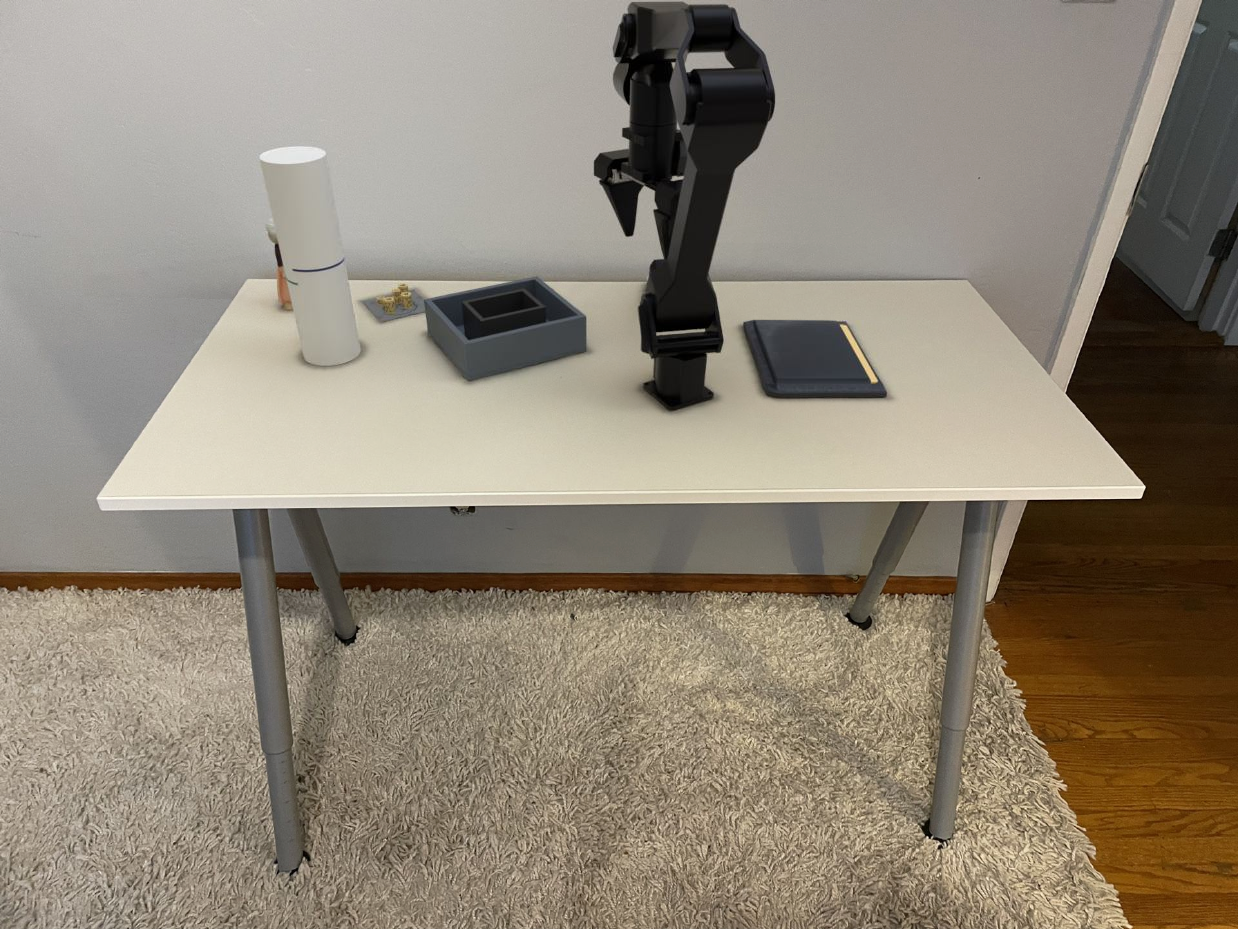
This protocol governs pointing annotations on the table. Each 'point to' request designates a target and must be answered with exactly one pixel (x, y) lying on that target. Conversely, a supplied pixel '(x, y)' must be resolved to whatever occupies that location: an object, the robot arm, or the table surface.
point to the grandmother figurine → (279, 268)
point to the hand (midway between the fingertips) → (648, 247)
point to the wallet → (811, 359)
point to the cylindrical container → (312, 252)
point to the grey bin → (510, 347)
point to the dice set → (396, 304)
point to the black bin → (501, 313)
